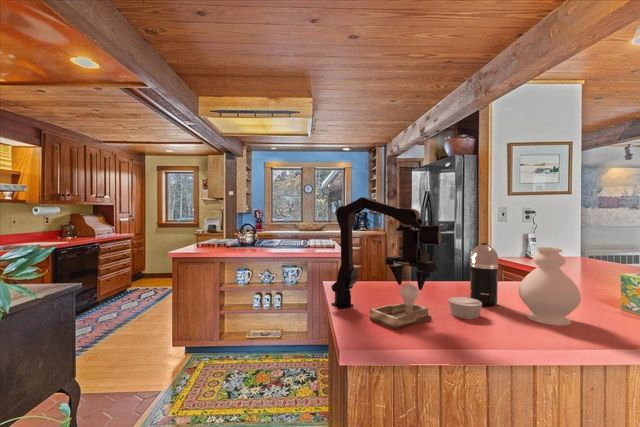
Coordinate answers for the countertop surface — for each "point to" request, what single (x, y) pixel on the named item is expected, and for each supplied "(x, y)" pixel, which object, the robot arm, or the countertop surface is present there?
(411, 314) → the wooden tray
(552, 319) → the decorative vase
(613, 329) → the countertop surface
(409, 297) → the lightbulb
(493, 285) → the black copper bottle
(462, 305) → the ramekin
